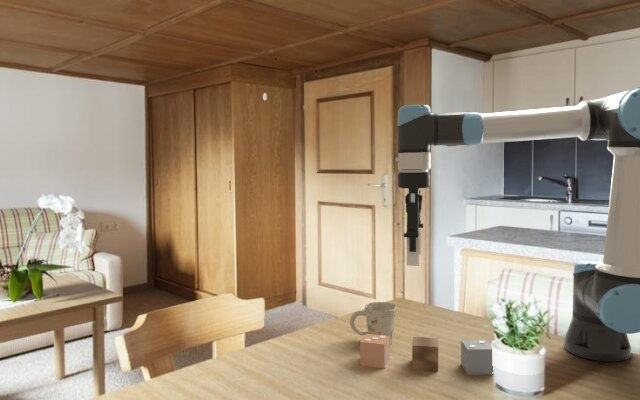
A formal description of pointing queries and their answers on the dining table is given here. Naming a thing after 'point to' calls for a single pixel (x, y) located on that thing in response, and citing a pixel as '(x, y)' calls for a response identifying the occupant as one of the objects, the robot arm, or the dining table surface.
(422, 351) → the walnut block
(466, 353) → the slate block
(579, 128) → the robot arm
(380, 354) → the terracotta block
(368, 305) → the mug
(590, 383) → the dining table surface
